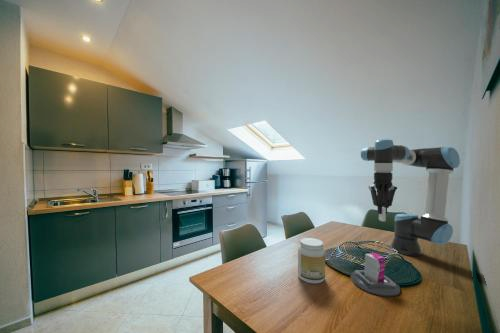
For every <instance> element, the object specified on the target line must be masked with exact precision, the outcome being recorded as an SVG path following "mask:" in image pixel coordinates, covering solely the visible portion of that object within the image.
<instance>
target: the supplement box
mask: <svg viewBox="0 0 500 333" xmlns="http://www.w3.org/2000/svg"><path fill="white" fill-rule="evenodd" d="M385 264H386V257H384V256H382V255H380V254H378V253H375V252H371V253H365V257H364V270H365V273H364V277H365V278H366V279H368V280H369V281H370V282H384V275H385V267H386V266H385Z"/></svg>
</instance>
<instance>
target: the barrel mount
mask: <svg viewBox="0 0 500 333" xmlns="http://www.w3.org/2000/svg"><path fill="white" fill-rule="evenodd" d="M364 273H365V269H362V270H361V269H355V270H354V271H353V272H351V273H350V281H351V282H352V284H354V285H355V286H356V287H357V288H359V289H360V290H362V291H364V292H366V293H369V294H372V295H375V296H379V297H387V298H390V297H392V298H393V297H397V296H398V295H400V293H401V287H400V285H399V283H397V281H395V280H394V279H393V278H391V277H389V276H388V275H385V274H384V282H370V281H369V280H368V279H366V278H365V277H364ZM396 283H397V284H396Z"/></svg>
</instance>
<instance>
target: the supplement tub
mask: <svg viewBox="0 0 500 333" xmlns="http://www.w3.org/2000/svg"><path fill="white" fill-rule="evenodd" d="M324 246H325V245H324V242H323V240H320V239H318V238H313V237H303V238H301V239H300V243H299V246H298V249H297V253H298V254H297V257H298V258H297V275H298V277H299V278H300V280H302V281H304V282H305V283H308V284H320V283H322V282H324V281H325V278H326V250H325V248H324Z"/></svg>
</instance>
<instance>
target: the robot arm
mask: <svg viewBox="0 0 500 333" xmlns="http://www.w3.org/2000/svg"><path fill="white" fill-rule="evenodd" d="M360 157H361V158H360V159H362V160H363V161H365V162H369V161H370V162H371V161H372V162H373V165H374V166H373V168H374V169H373V170H374V172H373V179H374V181H373V182H372V185H368V189H369V191H370V195H371V199H372V203H373V206H375V207H377V214H378V220H379V221H380V222H387V220H386V218H387V217H386V216H387V214H388V209H389V208H390V207H392V206H393V205H392V204H393V201H394V197H395V194H396V191H397V189H398V187H397V186H395V185H393V182H392V181H393V170H394V169H393V168H394V166H393V165H394V164H393V163H397V164H398V163H399V164H402V165H404V166H405V165H406V166H412V167H418V168H425V171H426V172H428V179H427V180H428V181H427V187H426V188H427V189H426V196H425V197H426V198H425V205H424V206H425V208H424V213H423V214H421V215H420V217H419V215H418V214H413V213H398V214H395V215H394V235H393V236H394V237H393V239H392V243H391V244H390V248H391V247H392V248H394V249H396V250H397V251H398V252H399V253H398V252H397V253H398V254H401V255H405V256H412V257H418V256H419V257H420V256H421V255H422V249H421V245H420V243H419V241H418V240H419V239H420V240H424V241H426V242H430V243H432V244H438V245H446V244H447V243H449V241H450V240H452V239H451V238H452V237H453V236H452V235H453V231H454V229H453V226H452V225H451V224H449V220H448V219H447V218H446V209H447V207H446V206H447V198H448V190H449V180H450V174H452V173H454V169H456V168H459V166H460V164H461V163H460V162H461V159H460V154H459V152H458V151H457V149H455V148H454V147H452V146H448V147H445V146H440V147H430V148H429V147H428V148H427V147H426V148H425V147H424V148H423V147H422V148H417V149H409V147H407V146H405V145H396V144H394V140H392V139H378V140H376V141H374V146H372V147H371V146H370V147H369V146H368V147H364V148H362V149H361V151H360Z"/></svg>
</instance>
